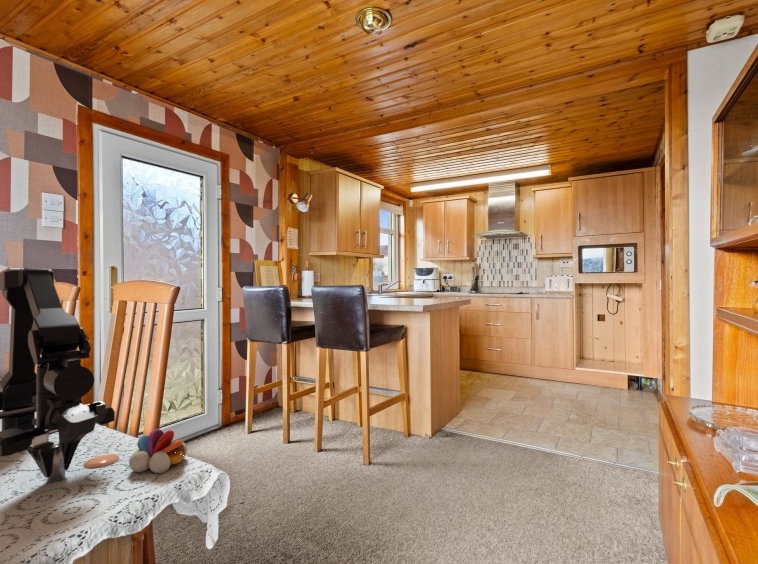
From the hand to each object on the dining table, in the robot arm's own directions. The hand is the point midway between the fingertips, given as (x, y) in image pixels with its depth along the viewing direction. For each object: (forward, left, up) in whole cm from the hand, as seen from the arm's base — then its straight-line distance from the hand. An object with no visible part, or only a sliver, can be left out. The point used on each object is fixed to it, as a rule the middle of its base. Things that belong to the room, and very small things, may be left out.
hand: (56, 473), depth 74 cm
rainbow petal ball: (+13, +11, -1) cm, 17 cm away
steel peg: (0, 0, -1) cm, 1 cm away
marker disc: (+1, +8, -1) cm, 8 cm away
